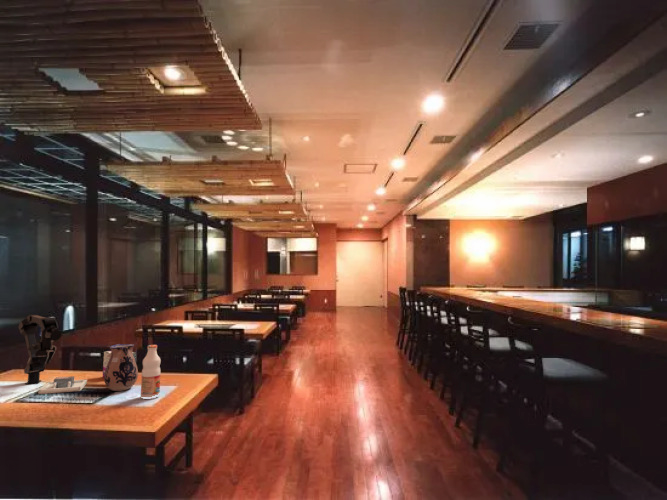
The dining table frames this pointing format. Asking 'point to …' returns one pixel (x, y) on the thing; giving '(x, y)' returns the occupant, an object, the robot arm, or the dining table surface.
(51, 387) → the tray
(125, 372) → the ceramic pitcher
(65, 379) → the grey rectangular block
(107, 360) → the candy bar box
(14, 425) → the dining table surface
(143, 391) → the fruit juice
